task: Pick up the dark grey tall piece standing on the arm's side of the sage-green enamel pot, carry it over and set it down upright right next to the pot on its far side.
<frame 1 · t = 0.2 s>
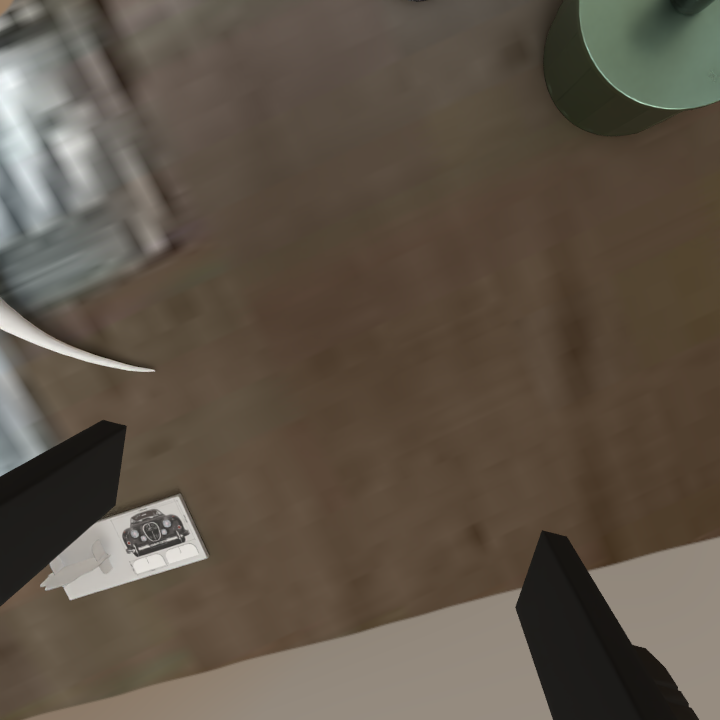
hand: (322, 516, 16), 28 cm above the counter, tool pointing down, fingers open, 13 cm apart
car cutout: (126, 545, 48), on the counter
pot: (621, 54, 37), on the counter
dinosaur: (19, 254, 43), on the counter
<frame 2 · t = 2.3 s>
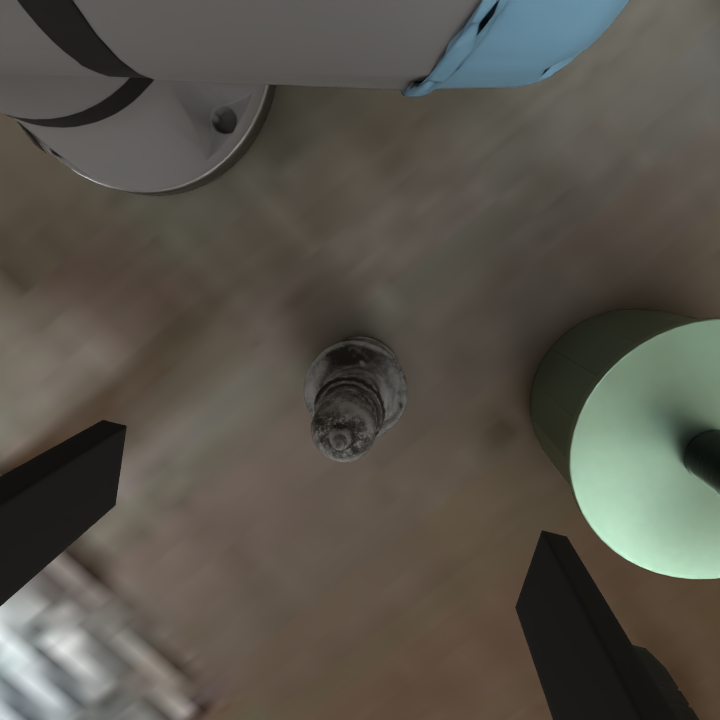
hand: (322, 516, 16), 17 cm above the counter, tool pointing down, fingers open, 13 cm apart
pot: (623, 400, 31), on the counter
dark grey tall piece: (360, 376, 32), on the counter
pot lid: (705, 451, 23), point 8 cm above the counter, touching pot
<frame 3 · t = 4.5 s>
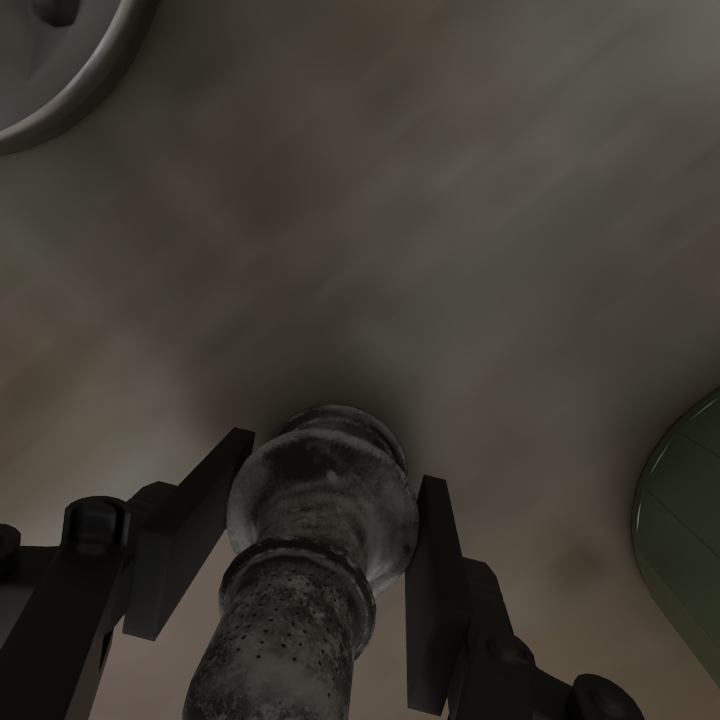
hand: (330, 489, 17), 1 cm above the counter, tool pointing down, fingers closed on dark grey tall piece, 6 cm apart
dark grey tall piece: (336, 470, 19), on the counter, touching gripper
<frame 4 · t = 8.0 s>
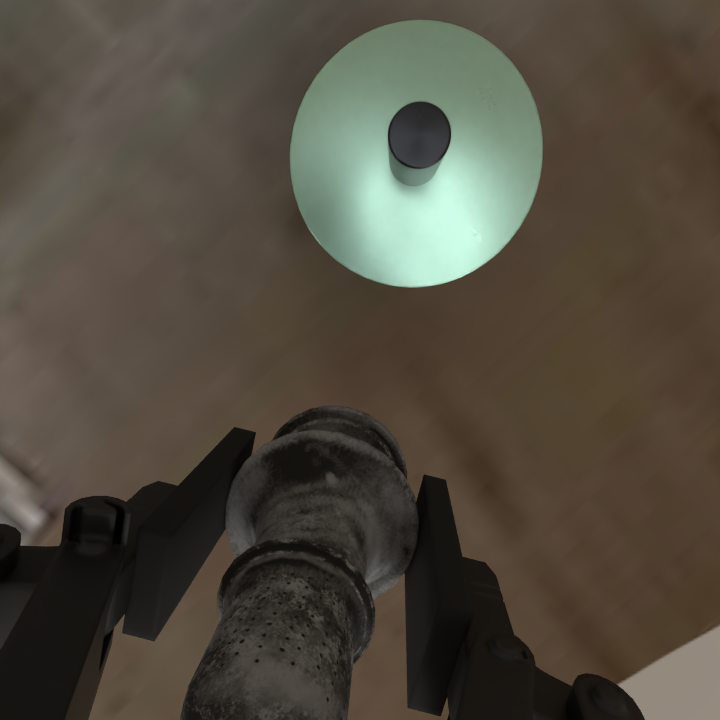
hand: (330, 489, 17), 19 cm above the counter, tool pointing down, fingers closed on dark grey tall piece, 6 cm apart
dark grey tall piece: (335, 472, 19), point 18 cm above the counter, touching gripper
pot lid: (413, 162, 25), point 8 cm above the counter, touching pot
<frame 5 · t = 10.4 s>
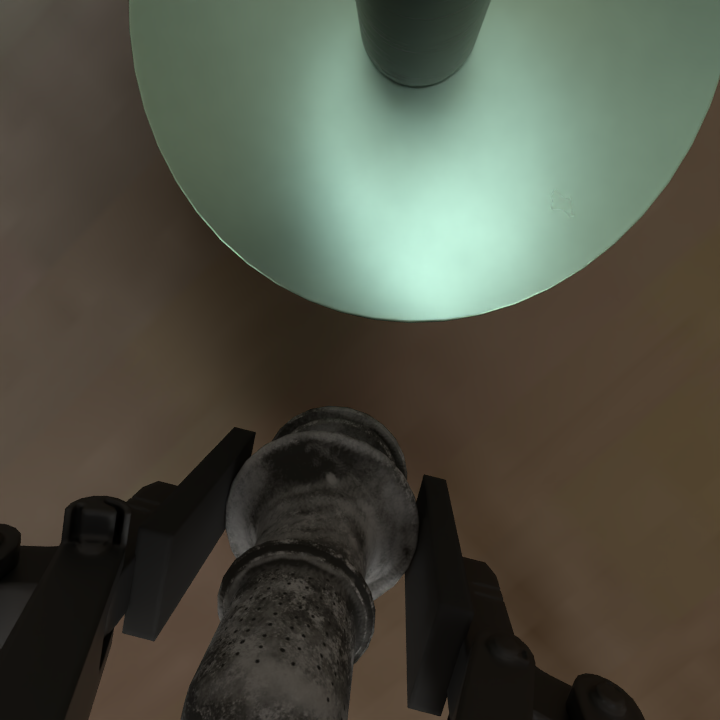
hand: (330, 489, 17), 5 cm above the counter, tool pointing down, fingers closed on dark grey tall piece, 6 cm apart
dark grey tall piece: (335, 472, 19), point 3 cm above the counter, touching gripper
pot lid: (418, 34, 11), point 8 cm above the counter, touching pot
when the fingers open (1 cm above the counter, at t = 11.7 s): dark grey tall piece stays where it is, on the counter.
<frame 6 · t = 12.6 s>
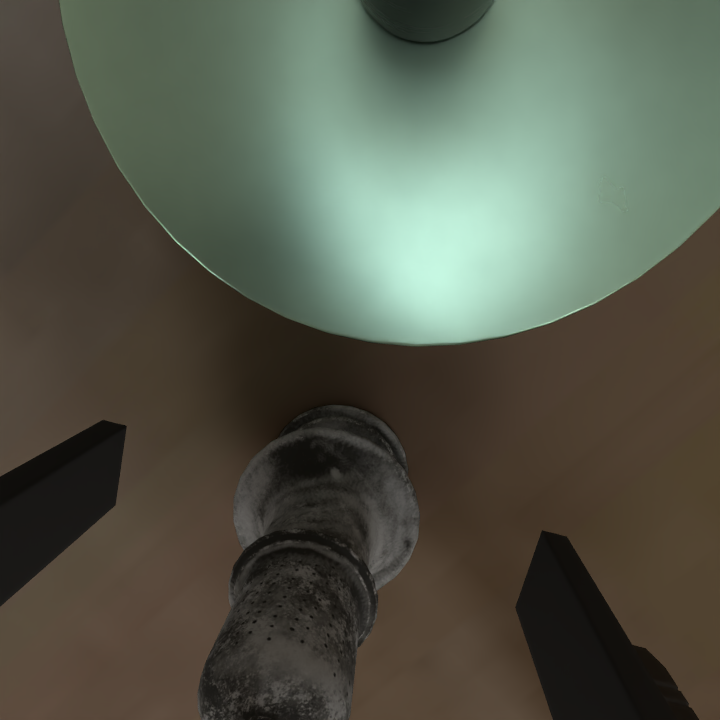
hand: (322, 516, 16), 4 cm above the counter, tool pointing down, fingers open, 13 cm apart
dark grey tall piece: (339, 469, 19), on the counter
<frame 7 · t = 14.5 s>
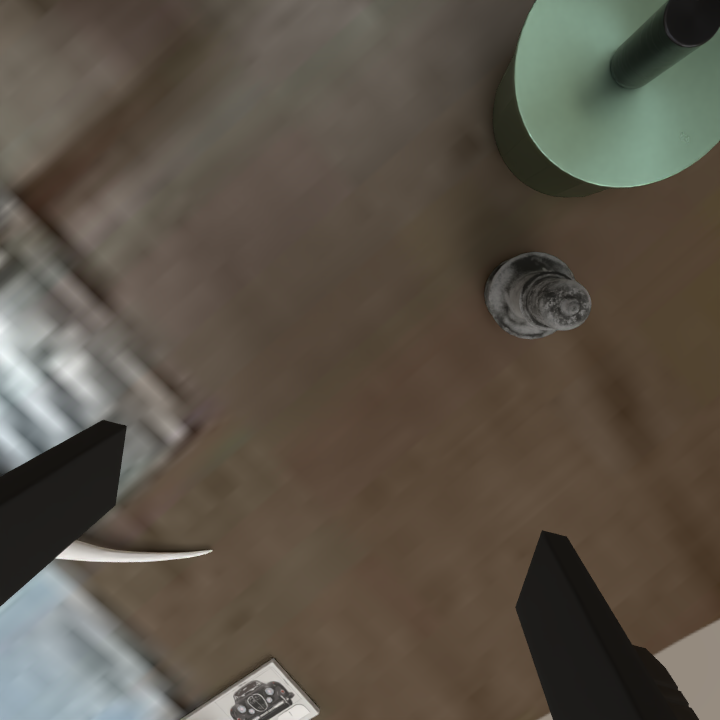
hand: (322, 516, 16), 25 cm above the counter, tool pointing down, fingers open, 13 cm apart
pot: (574, 113, 35), on the counter
dinosaur: (53, 479, 44), on the counter
dark grey tall piece: (519, 292, 38), on the counter
pot lid: (629, 68, 27), point 8 cm above the counter, touching pot
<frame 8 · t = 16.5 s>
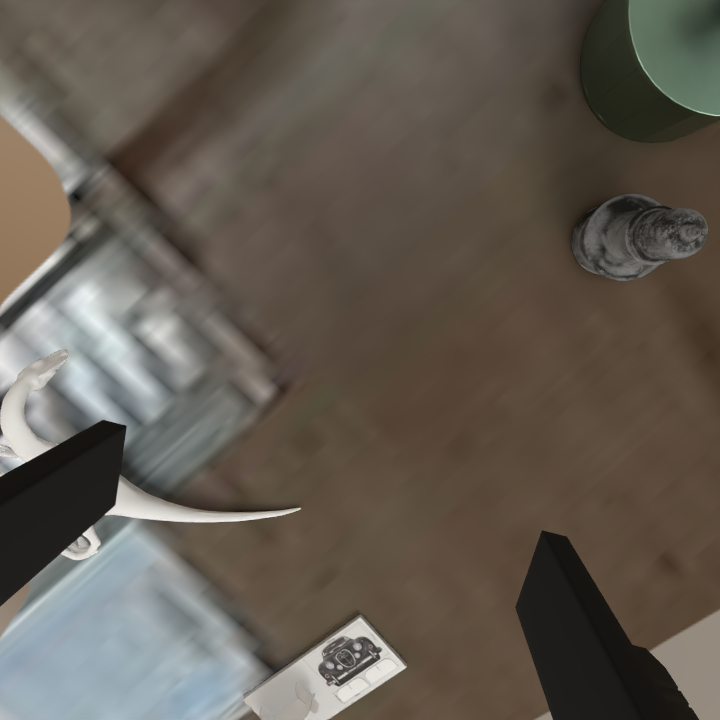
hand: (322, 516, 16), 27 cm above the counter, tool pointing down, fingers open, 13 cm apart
car cutout: (323, 678, 48), on the counter
pot: (661, 58, 36), on the counter
dinosaur: (142, 443, 45), on the counter
dark grey tall piece: (606, 239, 39), on the counter
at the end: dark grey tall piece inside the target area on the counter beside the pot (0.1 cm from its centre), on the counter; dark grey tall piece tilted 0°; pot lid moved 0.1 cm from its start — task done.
